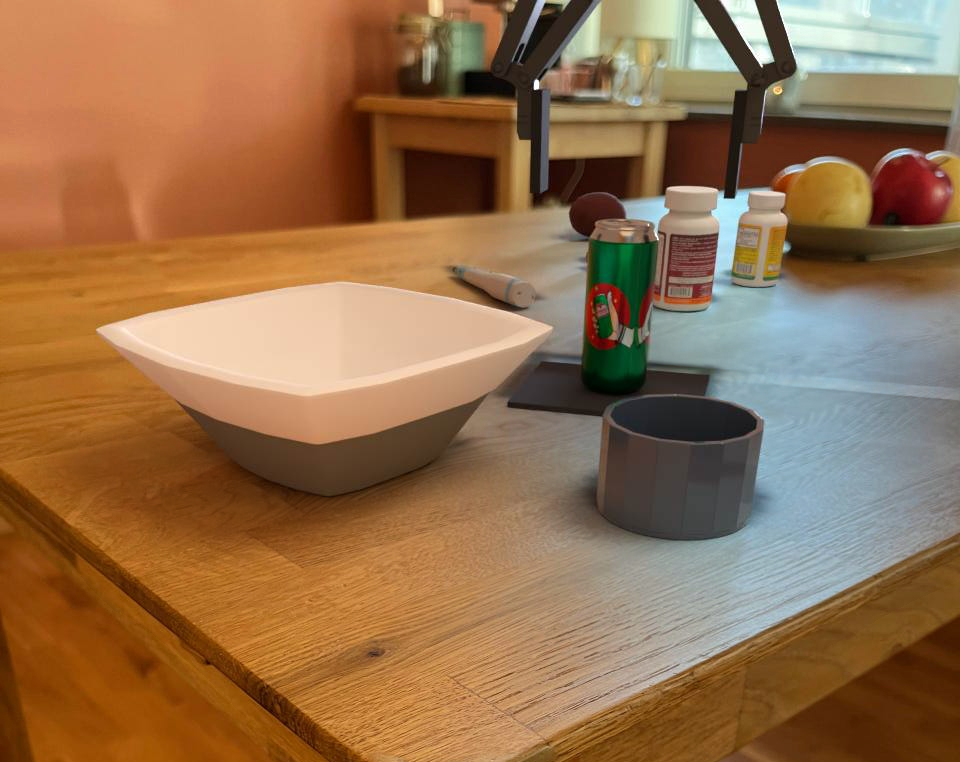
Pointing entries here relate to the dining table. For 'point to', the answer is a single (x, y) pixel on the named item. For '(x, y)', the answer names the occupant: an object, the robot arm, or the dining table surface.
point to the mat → (567, 393)
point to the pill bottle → (687, 249)
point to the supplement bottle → (760, 240)
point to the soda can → (618, 305)
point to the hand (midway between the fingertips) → (632, 194)
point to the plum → (594, 211)
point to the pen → (499, 285)
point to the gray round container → (678, 465)
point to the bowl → (329, 376)
